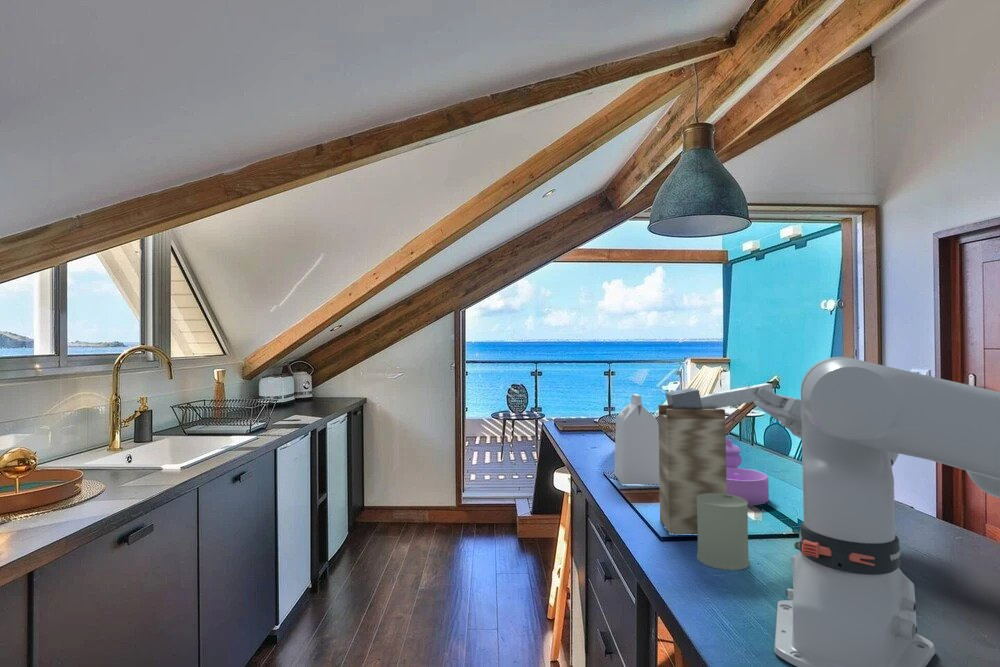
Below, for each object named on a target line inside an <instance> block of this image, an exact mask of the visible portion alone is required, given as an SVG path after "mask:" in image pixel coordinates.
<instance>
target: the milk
mask: <svg viewBox="0 0 1000 667" xmlns="http://www.w3.org/2000/svg"><path fill="white" fill-rule="evenodd" d="M614 436H615V439H614V440H615V441H614V474H613V475H615V476H616V477H617V478H618V479H619V480H620V482H621V483H622V484H660V482H659V421H658V420H657V418H656V417H654V415H652V414H651V412H649V410H647V408H645V407H644V405H643V403H642V395H640V394H637V393H632V394H631V400H630V403H629V404H627V405H625V406H624V407H623V408H622V409H621V411H620V412H619V413H618V415H617V416H616V418H615V435H614ZM615 476H614V477H615ZM616 477H615V478H616ZM620 482H619V483H620Z"/></svg>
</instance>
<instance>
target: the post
mask: <svg viewBox="0 0 1000 667" xmlns="http://www.w3.org/2000/svg"><path fill="white" fill-rule="evenodd" d="M658 425H659V482H660V486H659V521H660V520H661V521H660V523H661V524H662V523H663V524H664V526H665V527H666V529H667V530H668V532H669V533H671V534H672V533H673V534H692V535H693V534H698V526H697V499H696V497H697V496H698V495H700V494H705V493H723V494H727V485H726V439H727V437H726V436H727V434H726V409H725V408H717V409H669V407H668V404H658ZM663 524H662V525H663ZM664 526H663V527H664ZM665 527H664V528H665ZM666 529H665V530H666ZM667 530H666V531H667ZM668 532H667V533H668ZM669 533H668V534H669Z"/></svg>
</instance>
